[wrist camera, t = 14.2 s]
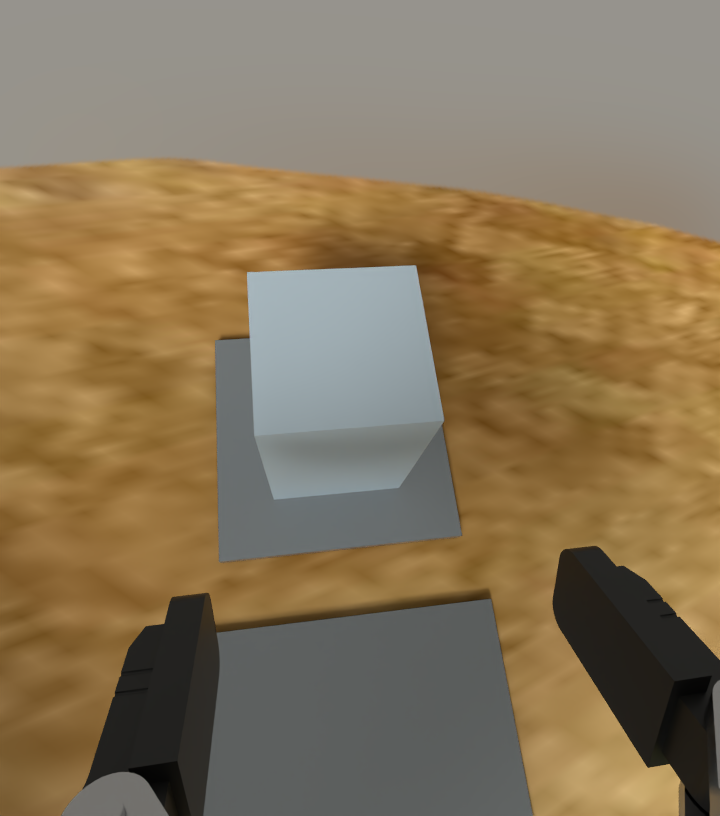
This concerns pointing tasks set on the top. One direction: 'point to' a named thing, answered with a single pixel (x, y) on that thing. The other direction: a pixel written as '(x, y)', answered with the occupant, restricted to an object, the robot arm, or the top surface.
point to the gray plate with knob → (314, 515)
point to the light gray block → (340, 378)
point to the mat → (367, 718)
